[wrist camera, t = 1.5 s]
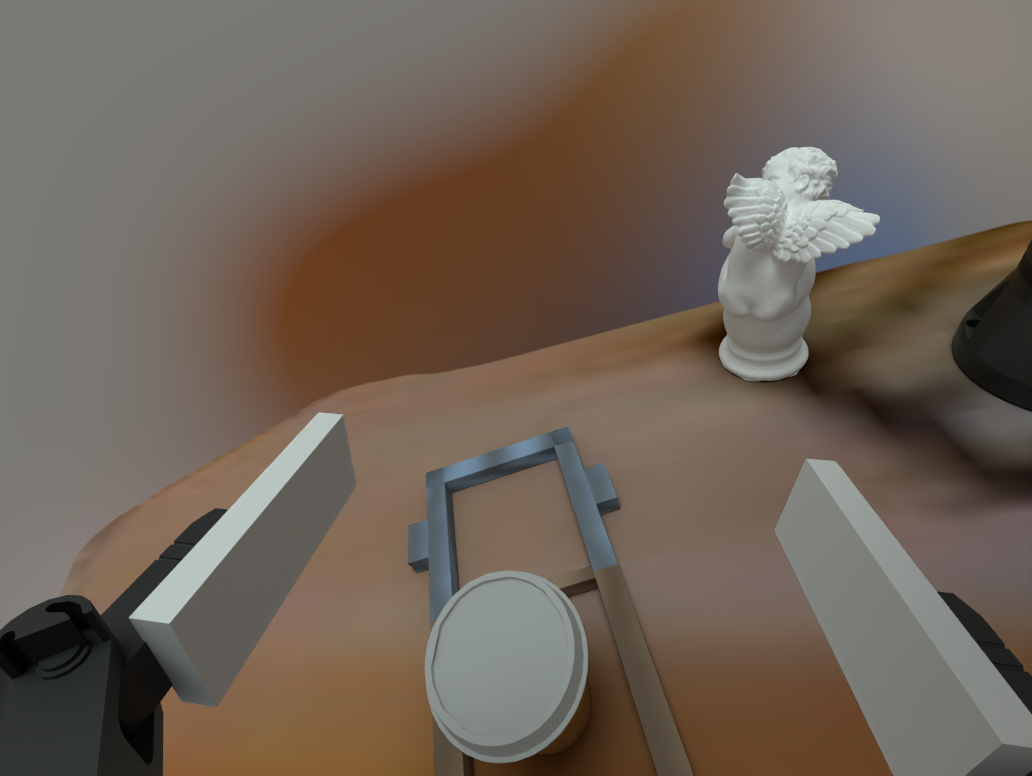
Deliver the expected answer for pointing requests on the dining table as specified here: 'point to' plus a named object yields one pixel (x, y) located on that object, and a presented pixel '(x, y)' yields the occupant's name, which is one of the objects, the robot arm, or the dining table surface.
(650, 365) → the dining table surface
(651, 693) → the two-bay frame
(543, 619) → the disposable coffee cup
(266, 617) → the robot arm
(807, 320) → the cherub figurine
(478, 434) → the dining table surface
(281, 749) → the dining table surface
